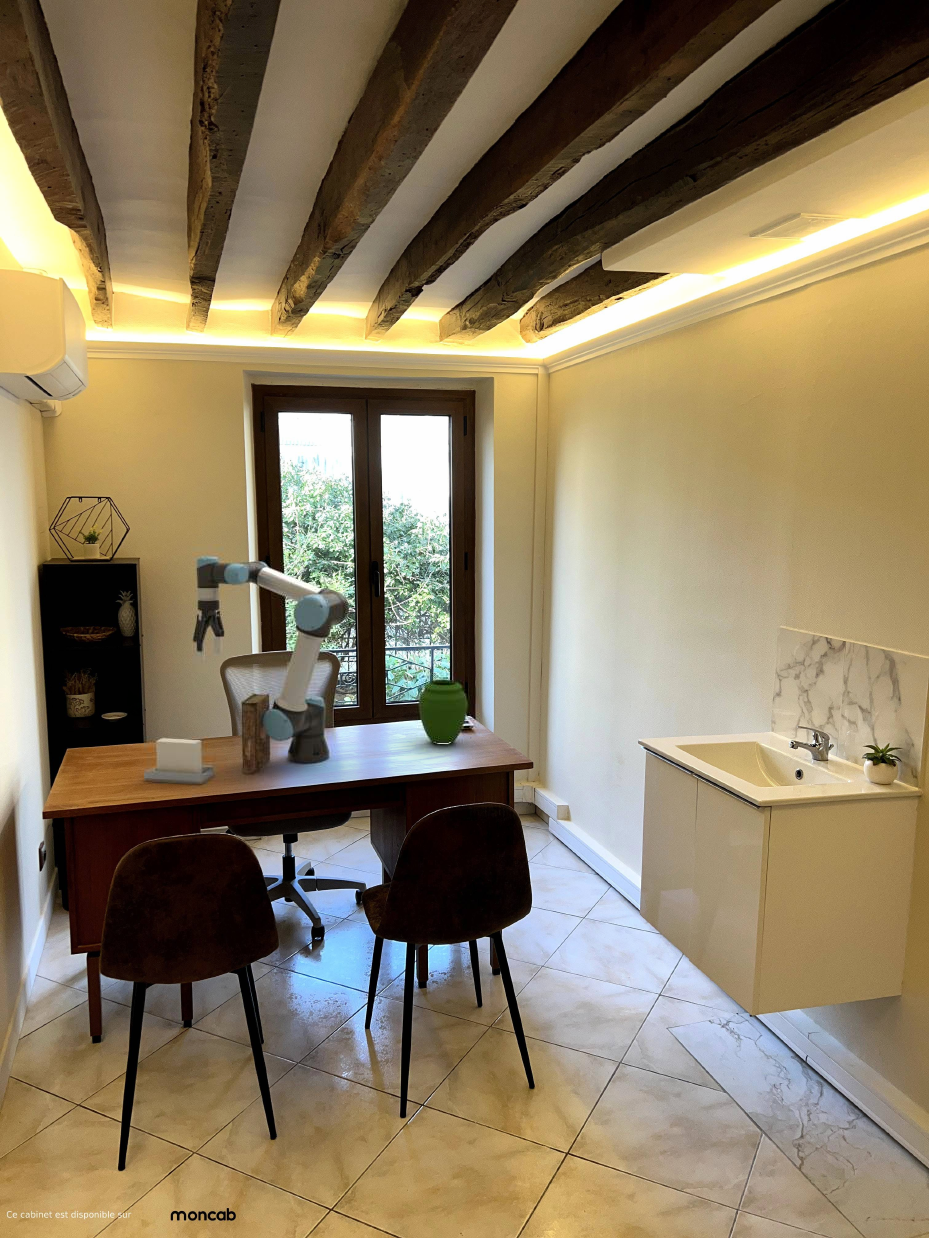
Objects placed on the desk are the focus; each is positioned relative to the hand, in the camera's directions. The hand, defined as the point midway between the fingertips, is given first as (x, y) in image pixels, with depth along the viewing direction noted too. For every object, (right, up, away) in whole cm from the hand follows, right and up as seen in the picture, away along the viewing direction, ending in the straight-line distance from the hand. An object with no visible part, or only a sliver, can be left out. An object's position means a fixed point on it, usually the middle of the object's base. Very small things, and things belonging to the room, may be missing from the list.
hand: (209, 657), depth 298 cm
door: (-3, -39, -23) cm, 45 cm away
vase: (+85, -35, +26) cm, 95 cm away
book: (+20, -39, -10) cm, 44 cm away
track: (-3, -40, -23) cm, 46 cm away
